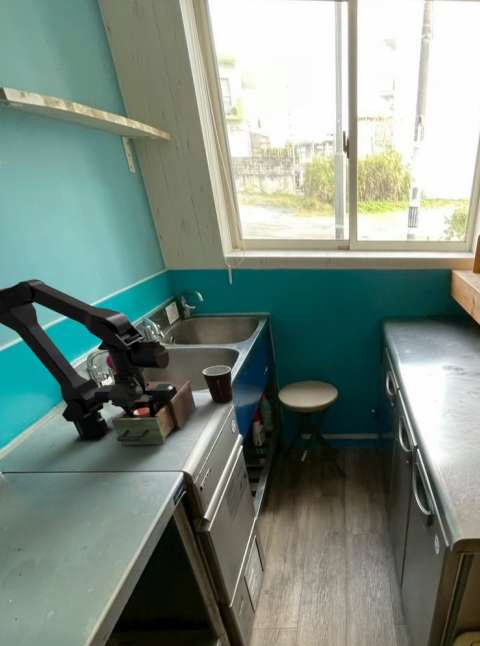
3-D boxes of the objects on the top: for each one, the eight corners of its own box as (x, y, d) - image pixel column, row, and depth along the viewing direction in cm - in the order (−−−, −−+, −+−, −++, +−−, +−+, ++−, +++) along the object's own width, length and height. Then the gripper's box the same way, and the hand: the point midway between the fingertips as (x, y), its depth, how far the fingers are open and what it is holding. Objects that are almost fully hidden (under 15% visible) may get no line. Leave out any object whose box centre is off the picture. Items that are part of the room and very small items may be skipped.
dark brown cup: (216, 393, 134) (210, 365, 128) (240, 394, 133) (235, 366, 127) (200, 408, 124) (192, 378, 119) (226, 409, 123) (219, 379, 118)
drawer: (157, 453, 100) (148, 428, 96) (112, 454, 100) (101, 429, 96) (182, 420, 115) (175, 397, 111) (143, 421, 115) (135, 398, 111)
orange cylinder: (159, 423, 109) (154, 407, 106) (151, 433, 104) (145, 416, 101) (143, 424, 109) (137, 407, 106) (134, 433, 104) (128, 417, 101)
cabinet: (179, 430, 112) (171, 400, 107) (135, 431, 112) (124, 401, 107) (196, 408, 124) (188, 380, 119) (156, 408, 124) (147, 381, 119)
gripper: (70, 379, 91) (95, 438, 99) (151, 378, 91) (170, 436, 100) (95, 363, 100) (117, 418, 109) (169, 362, 100) (185, 416, 109)
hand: (146, 422), depth 106 cm, fingers closed on orange cylinder, 4 cm apart
